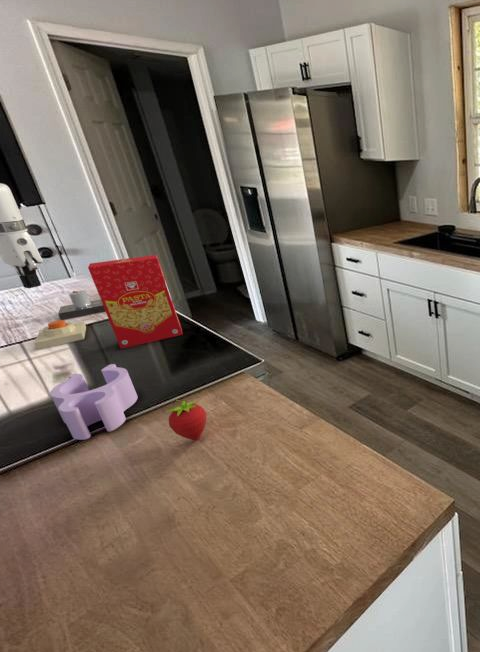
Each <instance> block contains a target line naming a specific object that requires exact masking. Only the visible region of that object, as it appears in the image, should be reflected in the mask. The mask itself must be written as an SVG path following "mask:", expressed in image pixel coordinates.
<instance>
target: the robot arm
mask: <svg viewBox="0 0 480 652" xmlns="http://www.w3.org/2000/svg"><path fill="white" fill-rule="evenodd" d="M28 230H29V229H28V228H27V225H26V223H25V221H24V218H23V216H22V214H21V211H20V209H19V206H18V204H17V202H16V200H15V198H14V195H13V193H12V190H11V188H10V187H9V186H8V185H7V184H5V183H2V182H0V258H1V259H2V261H3V262H4V263H5V264H6V265H9V266H11V267H12V268H14V270H15V273H16V274H17V275H18V277H19V279H20V281H21V283H22V286H23V288H26V289H33V288H37V287H41V286H42V283H41V281H40V279H39V277H38V273H37V270H38V266H37V264H39V265H40V264H43V262H44V261H43V258H42V256H41V254H40V252H39V250H38V247H37V245H36V244H35V242H34V240H33V239H32V237H31V235H30V234H29V233H28Z"/></svg>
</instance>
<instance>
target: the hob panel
mask: <svg viewBox="0 0 480 652" xmlns="http://www.w3.org/2000/svg"><path fill="white" fill-rule="evenodd" d="M90 302H91V305H89V306H86V307H81V308H75V307H74V305H73V303H71V304H67V305H62V306H60V308H59V310H58V313H57V315H58V317H59V320H64V321H65V320H70V319H75V318H80V317H85V316H90V315H96V314H100V313H106V311H105V309H104V306H103V304H102V301H101V299H95V300H90Z"/></svg>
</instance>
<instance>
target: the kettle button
mask: <svg viewBox="0 0 480 652" xmlns="http://www.w3.org/2000/svg"><path fill="white" fill-rule="evenodd" d="M65 322H66V321H65V320H61V319H59V320H54V321H51V322H48V323H47V326H49V328H50V329H57V328H61V327H64V326H66V323H65Z"/></svg>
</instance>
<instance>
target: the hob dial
mask: <svg viewBox="0 0 480 652" xmlns="http://www.w3.org/2000/svg"><path fill="white" fill-rule="evenodd" d="M68 296H69V298H70V300H71V304H73V305H74V307H75V308H81V307H86V306H89V305H91V302H90V301H91V299H90V297H89V295H88V292H87V291H86V290H73V291H72V292H69V293H68Z"/></svg>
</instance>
